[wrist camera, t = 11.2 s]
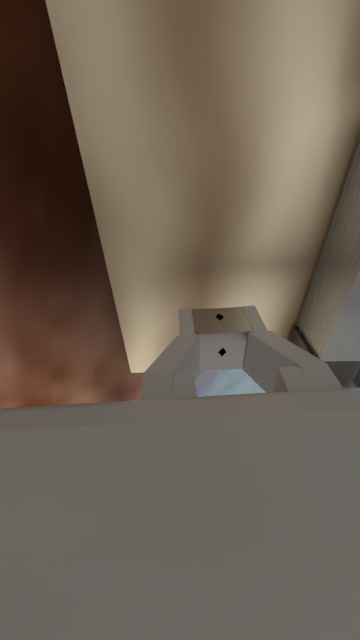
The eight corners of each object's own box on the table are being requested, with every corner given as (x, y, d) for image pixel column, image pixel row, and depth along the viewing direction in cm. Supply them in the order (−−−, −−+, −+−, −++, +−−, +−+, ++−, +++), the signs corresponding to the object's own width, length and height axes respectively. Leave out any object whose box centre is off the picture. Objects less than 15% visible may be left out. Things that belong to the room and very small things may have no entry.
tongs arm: (360, 120, 10) (419, 119, 8) (426, 121, 10) (505, 120, 8) (282, 361, 18) (299, 398, 15) (319, 360, 18) (342, 397, 16)
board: (133, 357, 20) (130, 373, 19) (54, -17, 9) (36, -39, 8) (428, 342, 20) (445, 356, 18) (698, -58, 9) (779, -86, 8)
